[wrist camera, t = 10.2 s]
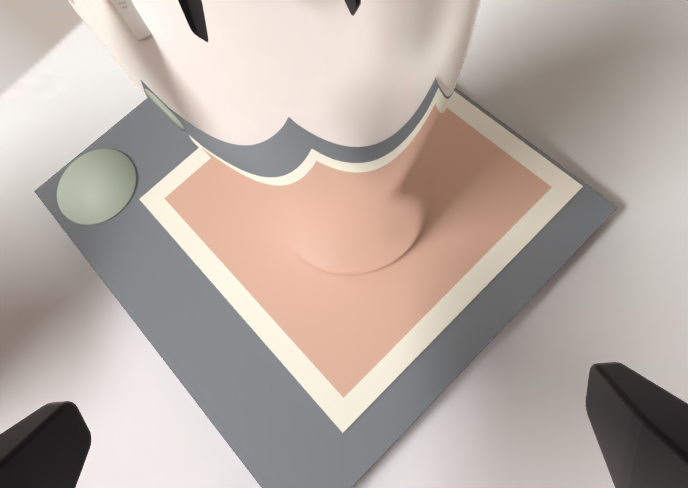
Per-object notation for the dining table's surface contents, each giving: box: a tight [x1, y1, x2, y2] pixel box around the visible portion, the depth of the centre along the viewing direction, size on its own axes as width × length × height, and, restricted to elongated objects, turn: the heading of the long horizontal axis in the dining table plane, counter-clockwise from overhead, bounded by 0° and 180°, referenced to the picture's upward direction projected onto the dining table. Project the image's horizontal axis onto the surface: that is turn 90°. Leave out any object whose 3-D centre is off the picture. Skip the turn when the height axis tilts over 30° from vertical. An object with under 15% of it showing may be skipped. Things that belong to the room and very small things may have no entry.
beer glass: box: [68, 0, 481, 275], centre depth 11 cm, size 7×7×15 cm
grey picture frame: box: [35, 88, 618, 488], centre depth 19 cm, size 18×16×1 cm
